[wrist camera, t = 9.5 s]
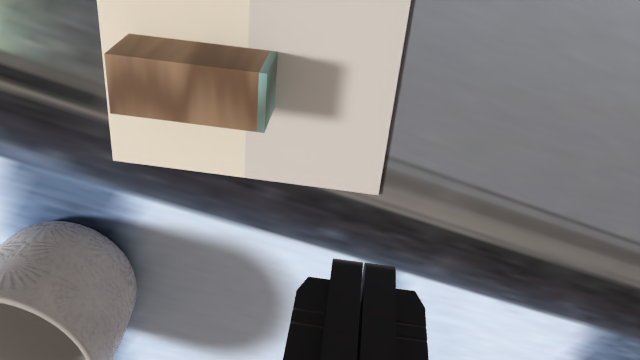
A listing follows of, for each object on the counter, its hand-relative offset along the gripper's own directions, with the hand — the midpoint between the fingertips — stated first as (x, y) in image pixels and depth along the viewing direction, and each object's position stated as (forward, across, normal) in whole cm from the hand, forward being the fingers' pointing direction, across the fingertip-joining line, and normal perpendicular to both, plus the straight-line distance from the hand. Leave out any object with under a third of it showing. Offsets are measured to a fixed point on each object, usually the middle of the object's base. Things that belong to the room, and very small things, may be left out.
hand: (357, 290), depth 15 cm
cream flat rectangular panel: (+27, +8, +6) cm, 29 cm away
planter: (+27, +22, +25) cm, 43 cm away
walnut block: (+25, +6, +6) cm, 26 cm away
